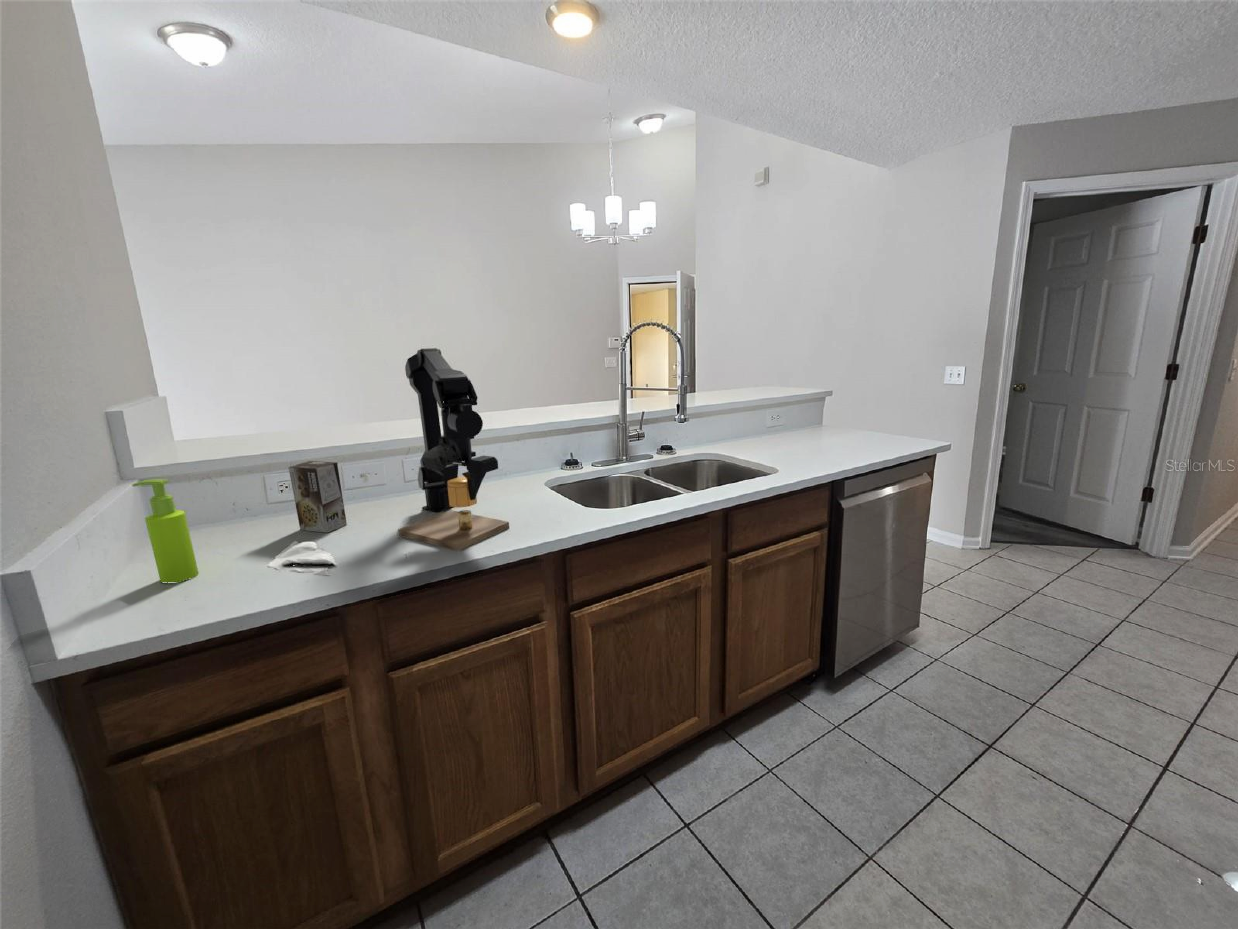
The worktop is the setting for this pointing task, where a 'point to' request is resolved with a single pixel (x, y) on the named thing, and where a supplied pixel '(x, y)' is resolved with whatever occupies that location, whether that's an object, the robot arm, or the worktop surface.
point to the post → (465, 520)
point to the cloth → (302, 558)
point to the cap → (459, 493)
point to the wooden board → (452, 530)
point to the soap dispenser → (169, 536)
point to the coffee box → (318, 496)
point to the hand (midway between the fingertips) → (462, 497)
